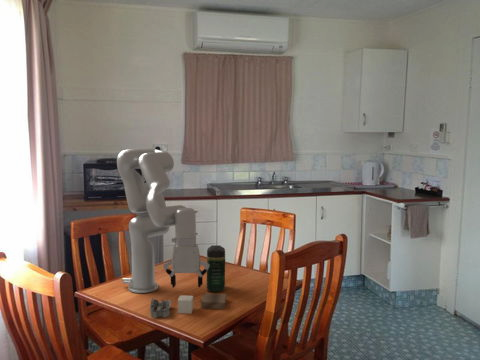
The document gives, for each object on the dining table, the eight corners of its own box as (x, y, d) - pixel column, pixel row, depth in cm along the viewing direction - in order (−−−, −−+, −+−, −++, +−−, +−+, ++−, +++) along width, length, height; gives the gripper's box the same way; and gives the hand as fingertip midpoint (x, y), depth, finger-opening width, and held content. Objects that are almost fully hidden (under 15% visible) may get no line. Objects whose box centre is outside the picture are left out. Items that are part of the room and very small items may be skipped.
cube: (177, 313, 166) (177, 300, 165) (180, 308, 171) (180, 295, 170) (191, 313, 166) (191, 300, 165) (193, 308, 171) (193, 295, 170)
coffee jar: (225, 292, 187) (225, 249, 185) (206, 292, 187) (206, 249, 185) (224, 284, 197) (225, 243, 195) (206, 285, 196) (206, 243, 194)
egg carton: (151, 307, 172) (151, 297, 171) (171, 306, 172) (171, 296, 172) (148, 318, 161) (148, 307, 161) (169, 318, 162) (169, 307, 161)
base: (200, 309, 171) (201, 301, 170) (204, 300, 180) (204, 293, 179) (224, 310, 170) (224, 302, 170) (226, 301, 179) (226, 294, 179)
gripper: (160, 243, 162) (161, 289, 163) (207, 243, 161) (208, 290, 162) (164, 239, 169) (166, 283, 171) (210, 239, 168) (210, 283, 170)
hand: (186, 286), depth 167 cm, fingers open, 9 cm apart
